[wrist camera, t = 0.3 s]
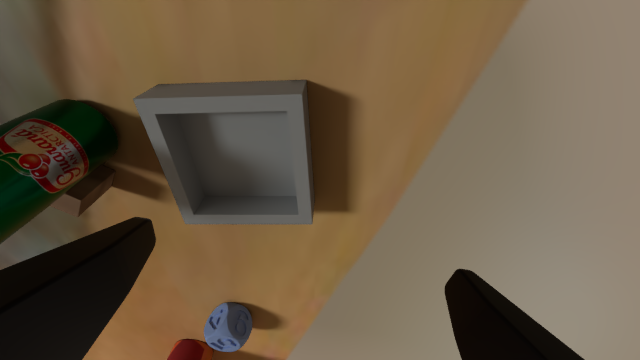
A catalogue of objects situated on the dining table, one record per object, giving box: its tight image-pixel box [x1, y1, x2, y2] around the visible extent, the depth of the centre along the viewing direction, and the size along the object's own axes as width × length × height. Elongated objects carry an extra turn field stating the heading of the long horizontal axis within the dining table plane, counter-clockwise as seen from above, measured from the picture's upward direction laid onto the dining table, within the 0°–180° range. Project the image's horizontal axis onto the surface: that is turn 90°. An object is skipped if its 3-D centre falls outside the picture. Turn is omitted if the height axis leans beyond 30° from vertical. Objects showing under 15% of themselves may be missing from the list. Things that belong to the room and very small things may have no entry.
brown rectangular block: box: [50, 165, 115, 217], centre depth 23 cm, size 2×5×4 cm, turn 56°
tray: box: [133, 80, 315, 224], centre depth 21 cm, size 10×10×3 cm
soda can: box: [0, 99, 118, 244], centre depth 17 cm, size 5×5×12 cm
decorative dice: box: [204, 302, 252, 352], centre depth 34 cm, size 4×4×4 cm
